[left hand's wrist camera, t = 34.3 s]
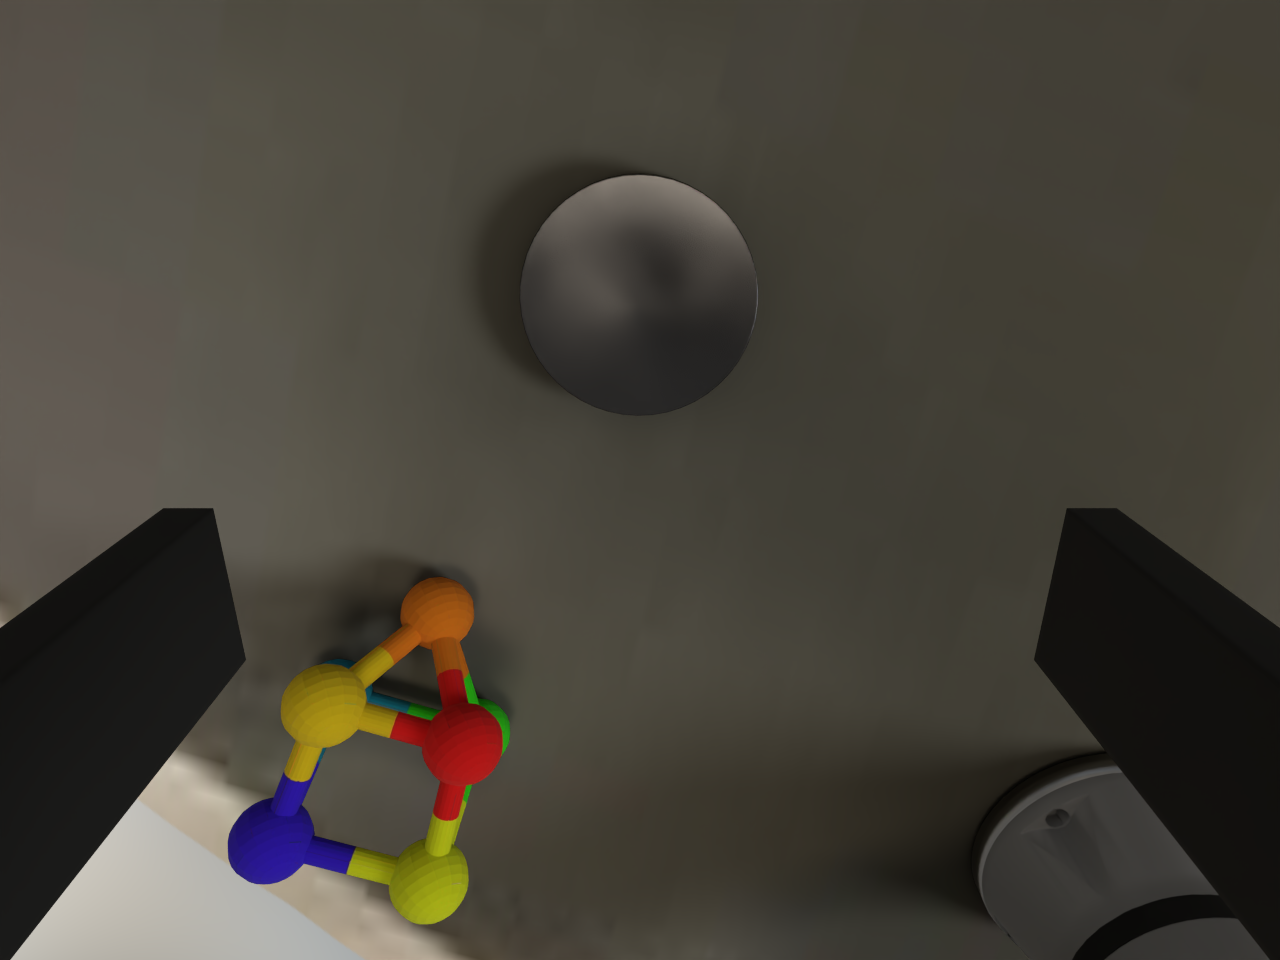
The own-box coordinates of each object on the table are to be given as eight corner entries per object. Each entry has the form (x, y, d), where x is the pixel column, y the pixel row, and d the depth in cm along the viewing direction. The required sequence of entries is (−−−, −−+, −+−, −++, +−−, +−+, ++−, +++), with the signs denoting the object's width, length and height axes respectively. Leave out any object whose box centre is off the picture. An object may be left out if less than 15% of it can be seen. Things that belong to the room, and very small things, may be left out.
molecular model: (442, 525, 43) (568, 755, 34) (470, 648, 52) (577, 857, 43) (141, 642, 38) (197, 951, 29) (228, 757, 46) (292, 1024, 37)
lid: (545, 415, 41) (540, 427, 39) (506, 189, 37) (499, 190, 35) (759, 391, 40) (765, 402, 39) (744, 158, 36) (749, 158, 35)
